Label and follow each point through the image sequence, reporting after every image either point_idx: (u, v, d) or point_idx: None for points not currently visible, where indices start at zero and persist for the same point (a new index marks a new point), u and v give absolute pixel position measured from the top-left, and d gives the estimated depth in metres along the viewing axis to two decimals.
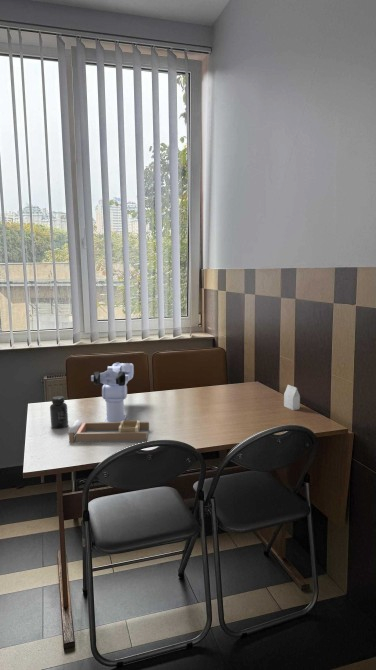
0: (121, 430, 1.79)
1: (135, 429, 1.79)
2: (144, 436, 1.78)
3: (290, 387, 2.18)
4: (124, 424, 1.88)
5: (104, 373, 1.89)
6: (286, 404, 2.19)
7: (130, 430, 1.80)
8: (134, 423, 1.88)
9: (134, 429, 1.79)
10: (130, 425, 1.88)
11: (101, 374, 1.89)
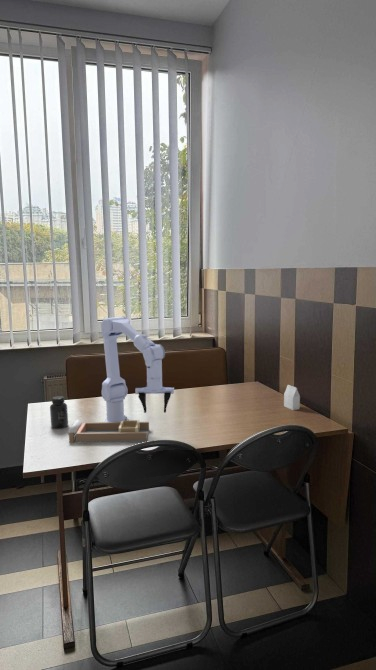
0: (121, 430, 1.79)
1: (135, 429, 1.79)
2: (144, 436, 1.78)
3: (290, 387, 2.18)
4: (124, 424, 1.88)
5: None
6: (286, 404, 2.19)
7: (130, 430, 1.80)
8: (134, 423, 1.88)
9: (134, 429, 1.79)
10: (130, 425, 1.88)
11: None
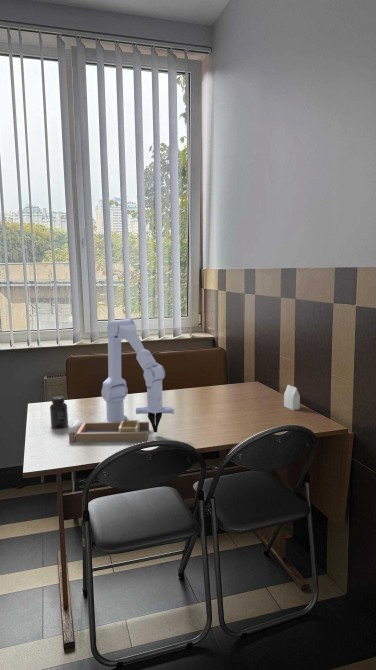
0: (121, 430, 1.79)
1: (135, 429, 1.79)
2: (144, 436, 1.78)
3: (290, 387, 2.18)
4: (124, 424, 1.88)
5: None
6: (286, 404, 2.19)
7: (130, 430, 1.80)
8: (134, 423, 1.88)
9: (134, 429, 1.79)
10: (130, 425, 1.88)
11: None
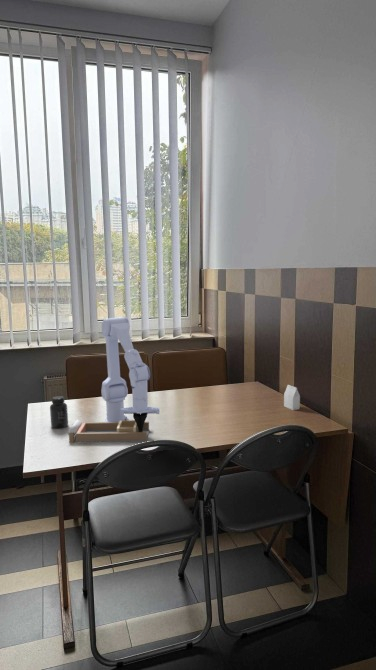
0: (119, 430, 1.79)
1: (133, 429, 1.79)
2: (144, 436, 1.78)
3: (290, 387, 2.18)
4: (122, 424, 1.88)
5: None
6: (286, 404, 2.19)
7: (128, 430, 1.80)
8: (132, 423, 1.88)
9: (132, 429, 1.79)
10: (128, 425, 1.88)
11: None
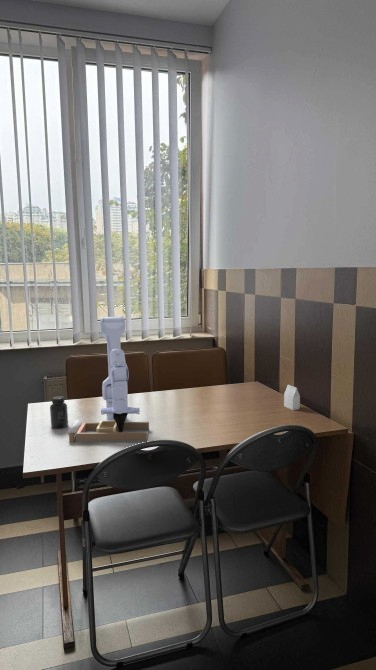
0: (99, 430, 1.79)
1: (113, 429, 1.79)
2: (144, 436, 1.78)
3: (290, 387, 2.18)
4: (103, 424, 1.88)
5: None
6: (286, 404, 2.19)
7: (108, 430, 1.79)
8: (113, 423, 1.88)
9: (112, 429, 1.79)
10: (109, 425, 1.88)
11: None
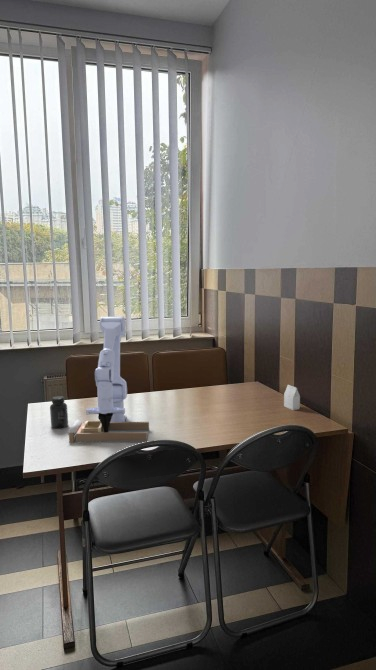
0: (84, 430, 1.79)
1: (98, 429, 1.79)
2: (144, 436, 1.78)
3: (290, 387, 2.18)
4: (88, 424, 1.88)
5: None
6: (286, 404, 2.19)
7: (93, 430, 1.79)
8: (98, 423, 1.88)
9: (97, 429, 1.79)
10: (94, 425, 1.88)
11: None
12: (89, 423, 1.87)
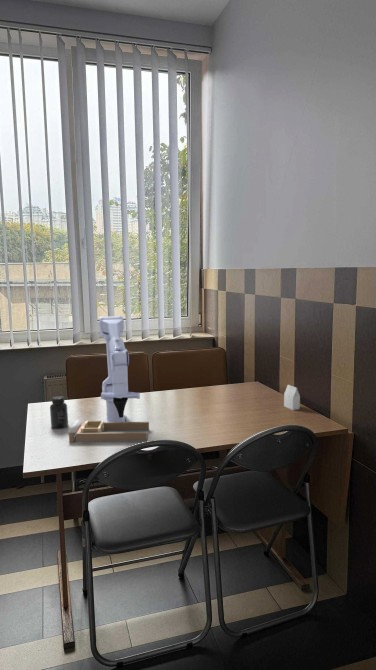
0: (83, 430, 1.79)
1: (98, 429, 1.79)
2: (144, 436, 1.78)
3: (290, 387, 2.18)
4: (88, 424, 1.88)
5: None
6: (286, 404, 2.19)
7: (93, 430, 1.79)
8: (98, 423, 1.88)
9: (97, 429, 1.79)
10: (94, 425, 1.88)
11: None
12: (89, 423, 1.87)
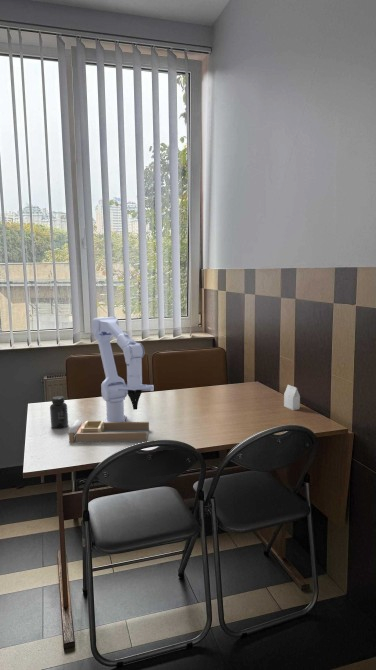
0: (83, 430, 1.79)
1: (98, 429, 1.79)
2: (144, 436, 1.78)
3: (290, 387, 2.18)
4: (88, 424, 1.88)
5: None
6: (286, 404, 2.19)
7: (93, 430, 1.79)
8: (98, 423, 1.88)
9: (97, 429, 1.79)
10: (94, 425, 1.88)
11: None
12: (89, 423, 1.87)
